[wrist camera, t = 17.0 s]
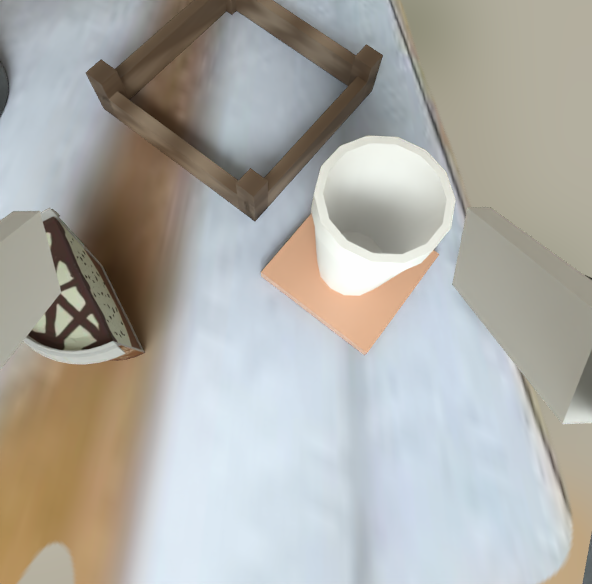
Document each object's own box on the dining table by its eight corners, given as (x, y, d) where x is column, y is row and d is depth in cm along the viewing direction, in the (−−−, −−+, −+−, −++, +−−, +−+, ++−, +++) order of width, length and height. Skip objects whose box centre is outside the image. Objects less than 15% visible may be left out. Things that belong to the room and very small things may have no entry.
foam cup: (343, 199, 45) (372, 111, 32) (420, 257, 44) (481, 189, 31) (280, 269, 42) (285, 203, 30) (359, 333, 41) (399, 292, 29)
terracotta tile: (261, 276, 43) (260, 272, 42) (336, 188, 47) (337, 182, 45) (364, 355, 42) (366, 353, 41) (434, 258, 45) (439, 254, 44)
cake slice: (31, 281, 42) (-38, 238, 32) (95, 251, 43) (46, 201, 34) (85, 403, 39) (26, 395, 30) (152, 367, 41) (116, 348, 31)
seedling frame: (103, 108, 48) (85, 72, 43) (229, -5, 53) (226, -48, 48) (255, 221, 45) (253, 196, 40) (371, 90, 50) (382, 55, 45)
